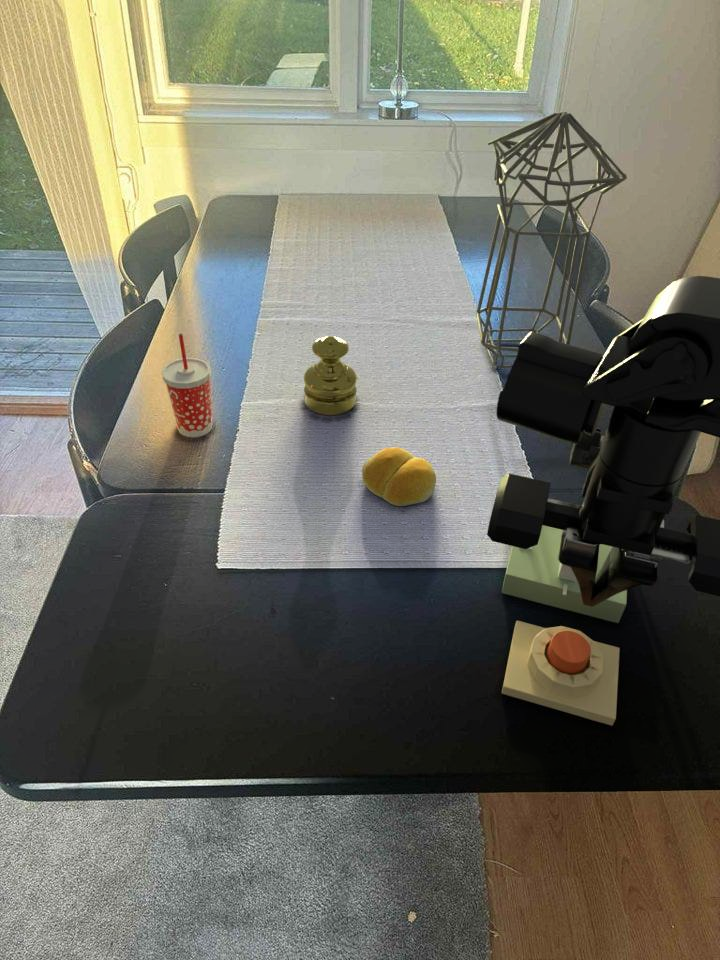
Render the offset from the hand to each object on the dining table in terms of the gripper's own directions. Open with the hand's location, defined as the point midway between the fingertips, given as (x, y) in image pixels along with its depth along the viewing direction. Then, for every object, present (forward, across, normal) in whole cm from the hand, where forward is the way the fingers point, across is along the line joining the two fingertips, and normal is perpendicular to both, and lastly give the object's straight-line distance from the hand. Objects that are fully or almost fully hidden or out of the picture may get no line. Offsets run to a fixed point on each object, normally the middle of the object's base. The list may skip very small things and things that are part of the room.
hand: (588, 601), depth 59 cm
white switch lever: (+8, +1, -13) cm, 15 cm away
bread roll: (+11, +22, -21) cm, 32 cm away
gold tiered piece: (+11, +36, -35) cm, 51 cm away
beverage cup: (+11, +51, -23) cm, 57 cm away
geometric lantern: (+11, +13, -57) cm, 59 cm away
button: (+8, 0, 0) cm, 8 cm away
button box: (+11, 0, 0) cm, 11 cm away
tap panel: (+11, +1, -12) cm, 16 cm away
